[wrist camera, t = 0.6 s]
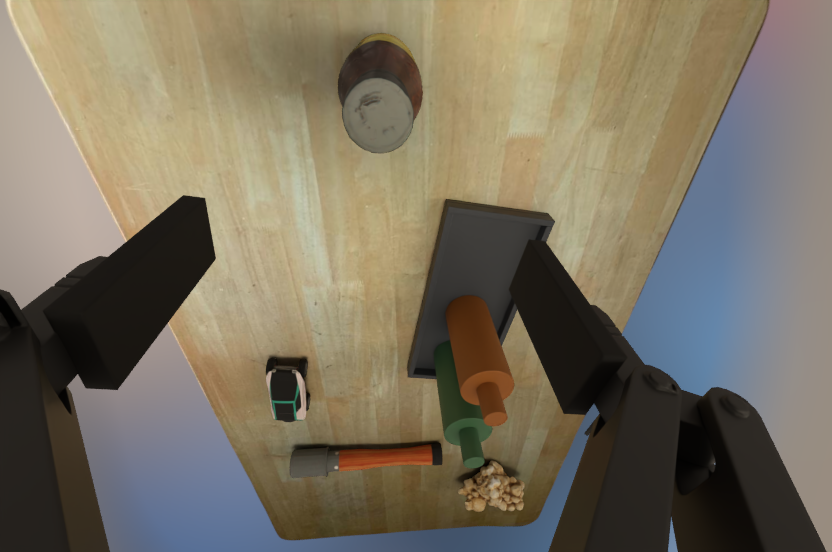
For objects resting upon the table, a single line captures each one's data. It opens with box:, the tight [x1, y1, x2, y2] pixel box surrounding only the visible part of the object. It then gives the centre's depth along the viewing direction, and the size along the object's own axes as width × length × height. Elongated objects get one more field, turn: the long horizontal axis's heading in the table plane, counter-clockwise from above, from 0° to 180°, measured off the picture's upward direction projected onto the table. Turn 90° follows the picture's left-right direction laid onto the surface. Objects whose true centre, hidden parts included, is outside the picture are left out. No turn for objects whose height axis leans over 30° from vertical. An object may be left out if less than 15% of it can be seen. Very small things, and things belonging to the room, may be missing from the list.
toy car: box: [266, 358, 310, 422], centre depth 58 cm, size 6×12×5 cm, turn 173°
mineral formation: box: [458, 461, 524, 512], centre depth 81 cm, size 8×13×15 cm
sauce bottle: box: [338, 33, 423, 153], centre depth 28 cm, size 7×6×20 cm
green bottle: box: [434, 340, 492, 468], centre depth 51 cm, size 6×6×18 cm
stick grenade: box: [290, 443, 442, 478], centre depth 72 cm, size 5×5×30 cm
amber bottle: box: [445, 295, 514, 426], centre depth 46 cm, size 6×6×18 cm
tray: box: [407, 199, 555, 379], centre depth 52 cm, size 31×14×2 cm, turn 170°
